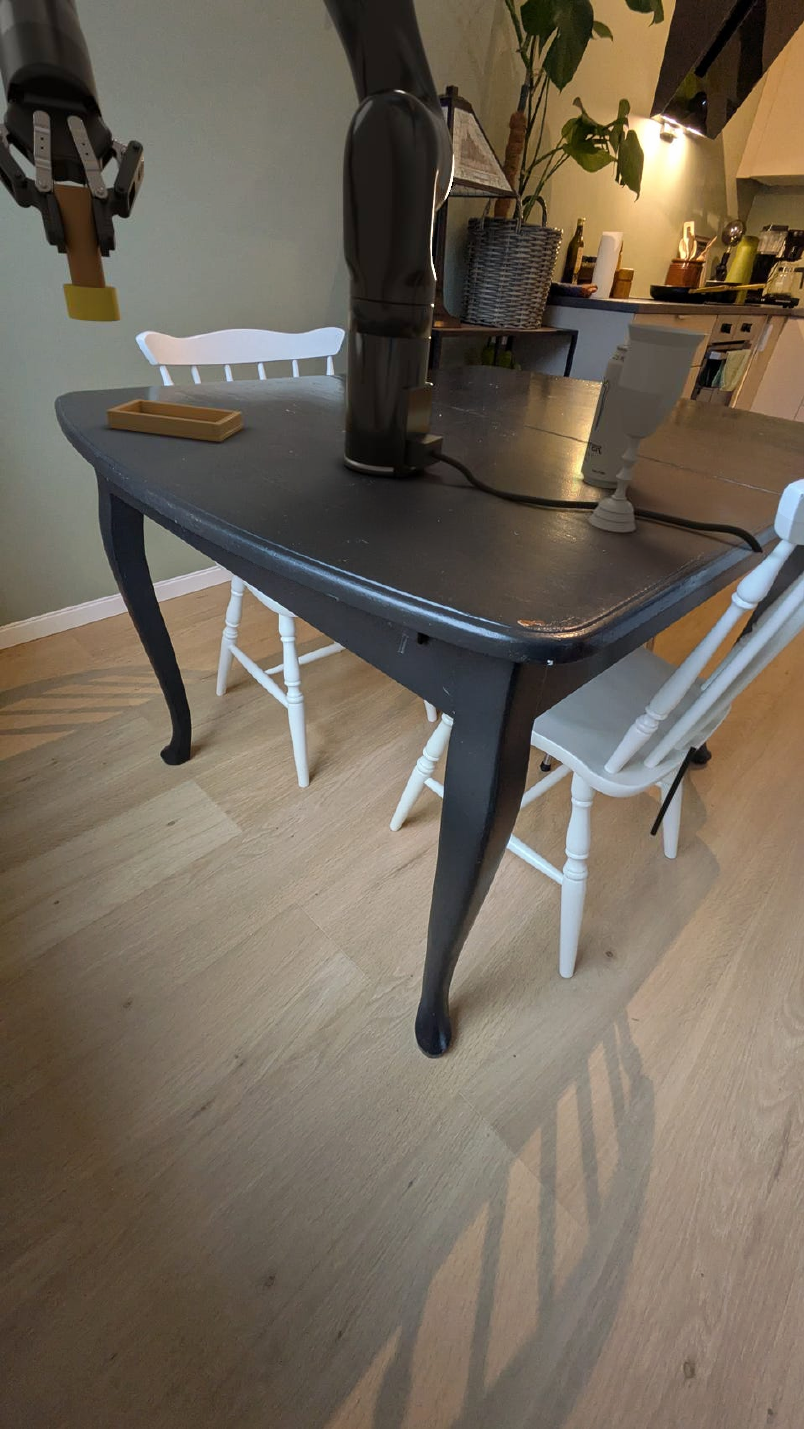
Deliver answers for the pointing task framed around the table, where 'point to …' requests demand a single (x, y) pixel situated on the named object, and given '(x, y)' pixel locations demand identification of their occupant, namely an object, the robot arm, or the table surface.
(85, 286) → the peg on yellow base
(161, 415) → the tray
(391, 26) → the robot arm
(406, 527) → the table surface
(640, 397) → the chalice
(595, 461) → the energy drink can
